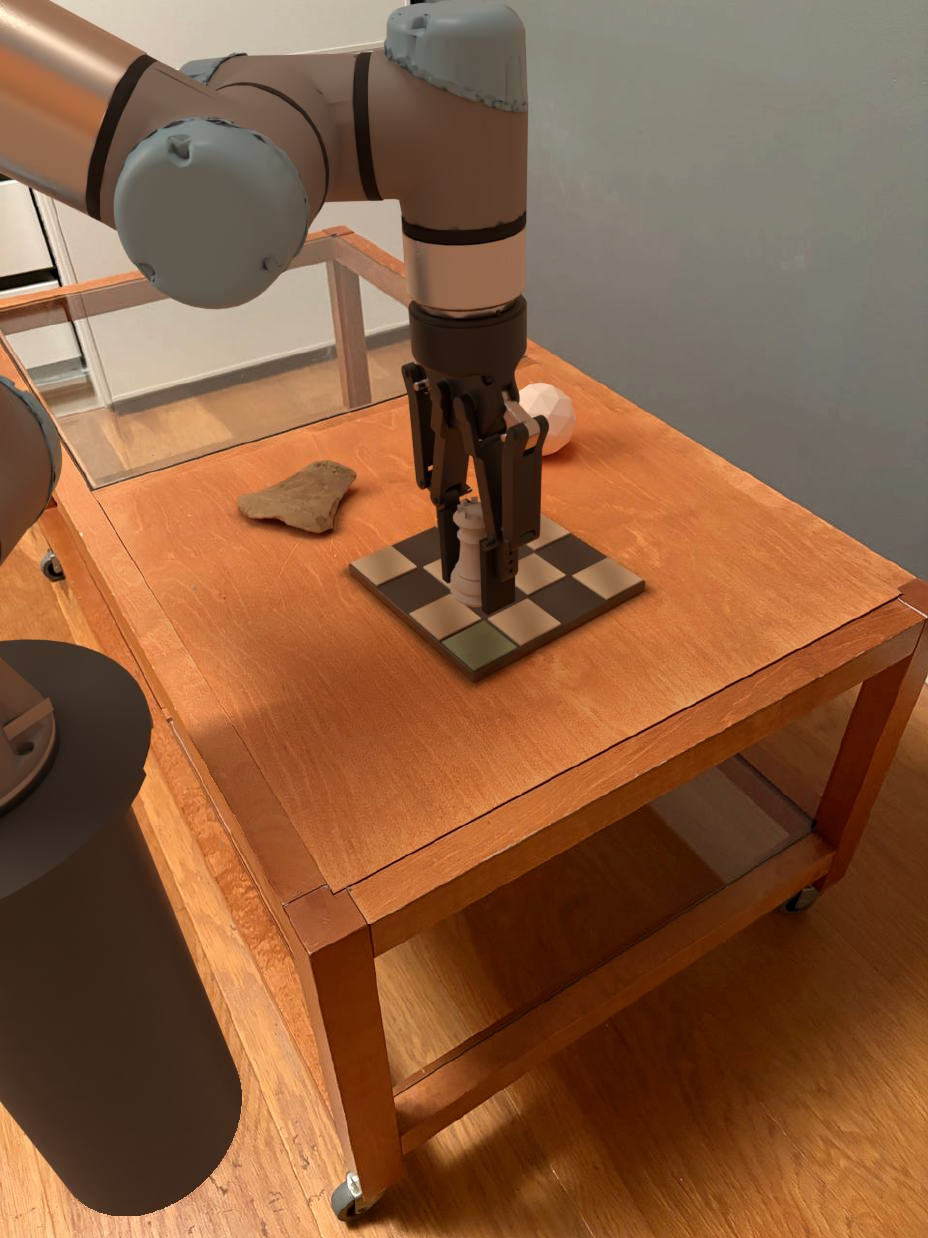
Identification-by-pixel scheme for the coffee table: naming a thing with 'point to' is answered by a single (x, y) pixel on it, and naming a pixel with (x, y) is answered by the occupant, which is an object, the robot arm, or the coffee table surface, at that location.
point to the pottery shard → (302, 497)
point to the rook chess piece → (468, 553)
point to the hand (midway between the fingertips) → (478, 589)
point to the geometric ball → (550, 413)
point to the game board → (543, 609)
